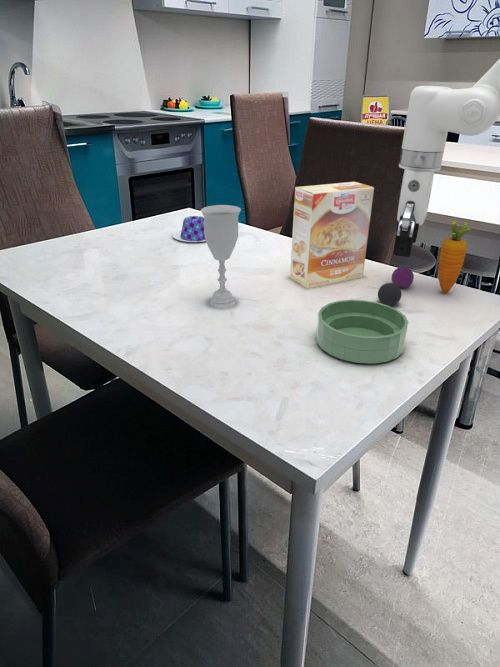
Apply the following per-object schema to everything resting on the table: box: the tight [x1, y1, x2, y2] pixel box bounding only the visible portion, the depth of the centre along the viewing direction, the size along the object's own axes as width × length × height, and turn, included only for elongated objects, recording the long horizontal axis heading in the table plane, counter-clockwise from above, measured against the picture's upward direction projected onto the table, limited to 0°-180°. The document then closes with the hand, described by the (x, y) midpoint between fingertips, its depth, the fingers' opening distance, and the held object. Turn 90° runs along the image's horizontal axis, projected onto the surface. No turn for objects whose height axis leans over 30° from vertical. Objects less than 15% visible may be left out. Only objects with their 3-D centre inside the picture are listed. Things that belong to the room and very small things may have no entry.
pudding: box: [172, 215, 206, 243], centre depth 134 cm, size 12×12×5 cm
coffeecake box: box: [289, 181, 375, 289], centre depth 105 cm, size 15×7×20 cm, turn 117°
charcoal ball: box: [377, 282, 403, 307], centre depth 96 cm, size 4×4×4 cm
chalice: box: [200, 204, 242, 309], centre depth 93 cm, size 7×7×18 cm
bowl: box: [315, 299, 409, 364], centre depth 82 cm, size 14×14×5 cm
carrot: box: [438, 221, 471, 294], centre depth 99 cm, size 5×5×15 cm
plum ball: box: [391, 266, 415, 289], centre depth 104 cm, size 4×4×4 cm
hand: (404, 248), depth 102 cm, fingers open, 9 cm apart
